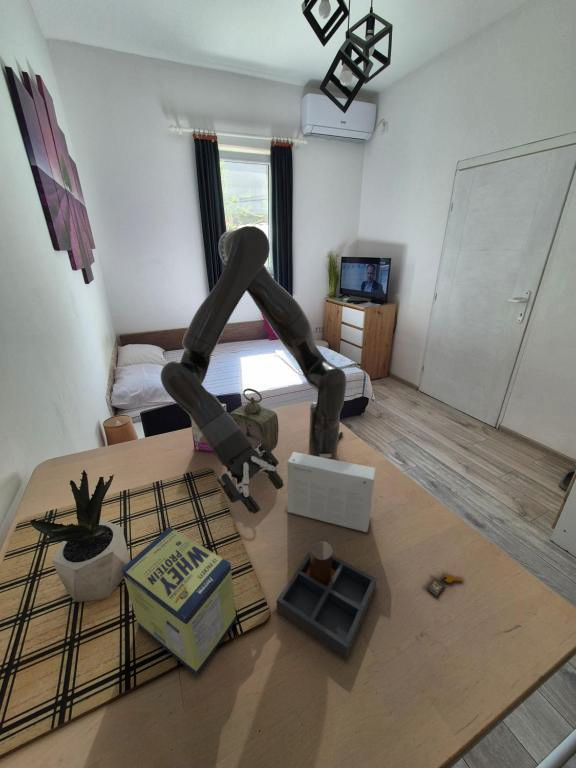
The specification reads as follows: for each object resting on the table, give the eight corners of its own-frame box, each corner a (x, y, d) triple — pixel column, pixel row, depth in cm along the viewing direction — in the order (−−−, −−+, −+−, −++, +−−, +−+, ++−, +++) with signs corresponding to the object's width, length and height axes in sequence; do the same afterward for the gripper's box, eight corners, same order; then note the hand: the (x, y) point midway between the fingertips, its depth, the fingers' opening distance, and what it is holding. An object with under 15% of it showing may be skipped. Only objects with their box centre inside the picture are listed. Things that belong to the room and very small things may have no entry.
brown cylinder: (315, 563, 71) (317, 537, 68) (334, 574, 69) (336, 547, 66) (305, 579, 68) (306, 552, 64) (324, 591, 65) (326, 563, 62)
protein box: (179, 579, 68) (169, 525, 62) (238, 619, 61) (232, 562, 55) (136, 626, 60) (118, 568, 54) (197, 678, 53) (186, 618, 47)
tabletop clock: (230, 457, 107) (224, 388, 97) (247, 444, 114) (243, 378, 104) (265, 472, 100) (263, 400, 90) (281, 457, 107) (281, 388, 97)
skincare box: (369, 517, 84) (376, 467, 78) (367, 533, 79) (374, 481, 73) (292, 498, 90) (293, 450, 84) (286, 512, 86) (286, 462, 79)
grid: (313, 556, 74) (313, 545, 72) (374, 590, 66) (376, 578, 65) (276, 611, 62) (276, 599, 61) (346, 660, 55) (347, 647, 54)
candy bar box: (193, 451, 110) (188, 408, 104) (199, 442, 115) (193, 401, 108) (226, 453, 109) (222, 410, 103) (229, 444, 114) (226, 403, 107)
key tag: (434, 598, 65) (435, 596, 65) (422, 585, 67) (423, 583, 67) (462, 580, 68) (463, 578, 68) (450, 568, 71) (450, 566, 70)
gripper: (209, 447, 63) (258, 516, 62) (255, 416, 74) (297, 475, 73) (193, 460, 68) (239, 525, 66) (238, 430, 79) (278, 485, 77)
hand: (269, 499), depth 70 cm, fingers open, 8 cm apart
